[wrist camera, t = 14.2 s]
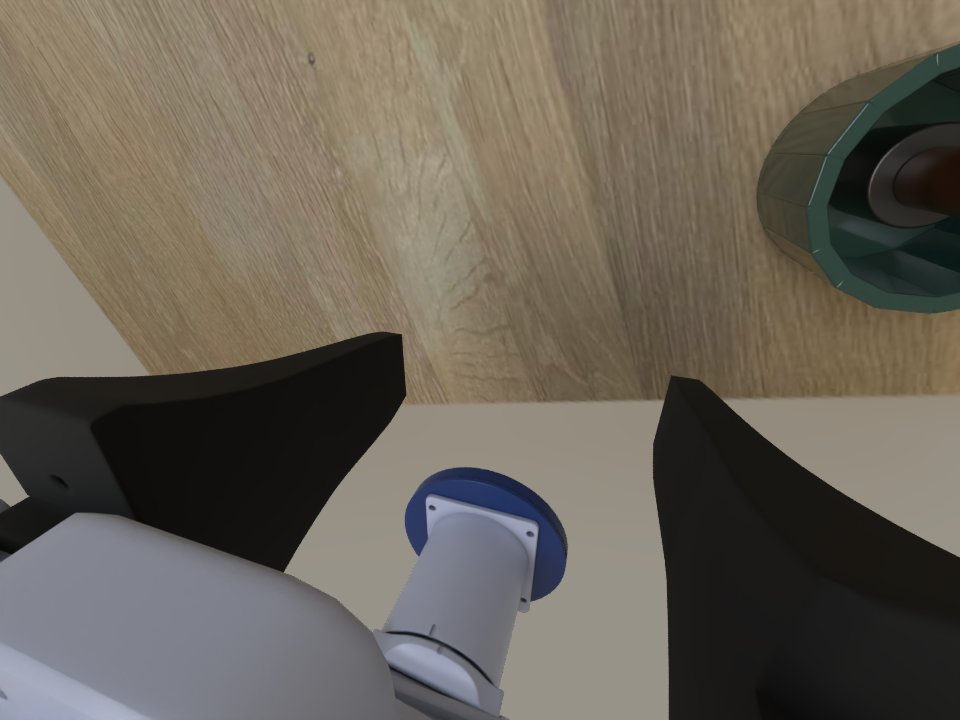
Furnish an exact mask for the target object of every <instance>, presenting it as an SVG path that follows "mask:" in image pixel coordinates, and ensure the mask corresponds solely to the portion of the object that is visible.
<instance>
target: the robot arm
mask: <svg viewBox="0 0 960 720" xmlns="http://www.w3.org/2000/svg"><path fill="white" fill-rule="evenodd" d="M405 397H406V385H405V372H404V358H403V345H402V334H396V333H389V332H375V333H370V334H366V335H362V336H358V337H354V338H351V339H347V340H344V341H340V342H337V343H333V344H330V345H327V346H323V347H320V348H316V349H312V350H309V351H305V352H301V353H297V354H293V355H290V356H286V357H282V358H278V359H274V360H269V361H264V362H259V363H254V364H249V365H243V366H238V367H231V368H224V369H216V370H208V371H200V372H192V373H182V374H170V375H155V376H137V377H56V378H50V379H44V380H41V381H37V382H35V383H32V384H30V385H28V386H25V387H23V388H20V389H18V390H15V391H13V392H10V393H8V394H6V395H3V396H1V397H0V454H1V455H2V456H3V458H4V460H5V461H6V463H7V464H8V466H9V467H10V469H11V471H12V472H13V474H14V475H15V477H16V478H17V480H18V481H19V483H20V484H21V486H22V487H23V489H24V490H25V492H26V493H27V495H29V497H28V498H26V499H24V500H23V501H21V502H19V503H17V504H16V505H14V506H12V507H10V506H9V505H8V504H7V503H5V502H4V501H3V500H2V499H0V720H509V719H508V718H505V717H503V716H499V713H500V709H501V704H502V700H503V696H504V692H503V691H502V690H501V689H499V686H500V681H501V677H502V673H503V669H504V665H505V660H506V656H507V652H508V648H509V644H510V639H511V635H512V631H513V627H514V623H515V619H516V615H517V611H519V612H523V613H526V612H528V611H529V608H530V601H531V592H532V584H533V576H534V567H535V559H536V550H537V542H538V533H539V524H538V523H537V522H536V521H535V520H532V519H528V518H525V517H521V516H517V515H513V514H509V513H505V512H501V511H497V510H494V509H490V508H486V507H482V506H478V505H474V504H470V503H467V502H463V501H459V500H455V499H451V498H447V497H443V496H439V495H436V494H429V495H428V496H427V498H426V514H427V531H428V540H427V542H426V544H425V546H424V548H423V550H422V552H421V554H420V556H419V558H418V560H417V562H416V564H415V566H414V568H413V570H412V572H411V574H410V575H409V577H408V580H407V581H406V583H405V585H404V587H403V589H402V591H401V593H400V595H399V597H398V599H397V601H396V603H395V605H394V607H393V609H392V611H391V613H390V615H389V617H388V618H387V620H386V623H385V624H384V626H383V628H382V630H381V631H380V630H378V629H374V631H373V633H372V632H371V631H370V630H369V629H368V628H367V627H366V626H365V625H364V624H363V623H362V622H361V621H360V620H358V619H357V618H356V617H355V616H354V615H353V614H352V613H351V612H350V611H349V610H348V609H346V608H345V607H344V606H343V605H342V604H341V603H340V602H339V601H338V600H337V599H336V598H334V597H332V596H330V595H328V594H326V593H324V592H322V591H320V590H318V589H316V588H315V587H312V586H311V585H309V584H307V583H305V582H303V581H301V580H299V579H297V578H296V577H294V576H292V575H289V574H286V573H284V571H285V569H286V567H287V565H288V564H289V562H290V560H291V558H292V557H293V555H294V553H295V551H296V550H297V548H298V547H299V545H300V543H301V541H302V540H303V538H304V537H305V535H306V534H307V532H308V530H309V529H310V527H311V526H312V524H313V522H314V521H315V519H316V518H317V516H318V515H319V513H320V512H321V510H322V508H323V507H324V506H325V504H326V502H327V501H328V499H329V498H330V496H331V495H332V493H333V492H334V490H335V489H336V488H337V486H338V485H339V484H340V482H341V481H342V480H343V479H344V477H345V476H346V475H347V474H348V472H349V471H350V470H351V469H352V468H353V466H354V465H355V464H356V463H357V462H358V460H359V459H360V458H361V457H362V456H363V455H364V453H365V452H366V451H367V450H368V448H369V447H370V446H371V445H372V444H373V443H374V441H375V440H376V439H377V438H378V437H379V435H380V434H381V433H382V432H383V430H384V429H385V428H386V427H387V426H388V424H389V423H390V422H391V420H392V419H393V417H394V415H395V414H396V412H397V411H398V409H399V407H400V405H401V404H402V402H403V400H404V398H405ZM653 480H654V488H655V495H656V503H657V510H658V517H659V524H660V530H661V538H662V545H663V551H664V558H665V568H666V578H667V608H668V655H669V720H960V557H957V556H956V555H954V554H952V553H950V552H948V551H946V550H944V549H942V548H940V547H938V546H936V545H934V544H932V543H930V542H928V541H926V540H924V539H922V538H920V537H919V536H917V535H915V534H913V533H911V532H909V531H907V530H905V529H903V528H902V527H900V526H898V525H896V524H894V523H892V522H891V521H889V520H887V519H886V518H884V517H882V516H880V515H879V514H877V513H875V512H873V511H872V510H870V509H868V508H867V507H865V506H863V505H861V504H860V503H858V502H856V501H854V500H853V499H851V498H850V497H848V496H846V495H844V494H843V493H842V492H840V491H838V490H837V489H835V488H833V487H832V486H830V485H829V484H827V483H826V482H824V481H823V480H822V479H820V478H819V477H817V476H816V475H814V474H813V473H811V472H809V471H808V470H807V469H805V468H804V467H802V466H801V465H799V464H798V463H797V462H795V461H794V460H793V459H791V458H790V457H788V456H787V455H786V454H785V453H783V452H782V451H781V450H779V449H778V448H777V447H776V446H774V445H773V444H772V443H771V442H769V441H768V440H767V439H766V438H764V437H763V436H762V435H761V434H759V433H758V432H757V431H756V430H755V429H754V428H752V427H751V426H750V425H749V424H748V423H746V422H745V421H744V420H743V419H742V418H741V417H740V416H739V415H737V414H736V413H735V412H734V411H733V410H732V409H731V408H730V407H729V406H728V405H727V404H726V403H725V402H724V401H722V400H721V399H720V398H719V397H718V396H717V395H716V394H715V393H714V392H713V391H712V390H711V389H709V388H708V387H707V386H706V385H705V384H704V383H703V382H701V381H700V380H697V379H690V378H684V377H677V376H671V378H670V382H669V386H668V390H667V394H666V397H665V401H664V405H663V409H662V413H661V416H660V420H659V424H658V428H657V432H656V435H655V439H654V443H653ZM529 531H530V532H529ZM531 532H532V533H531Z"/></svg>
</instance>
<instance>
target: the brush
mask: <svg viewBox="0 0 960 720" xmlns="http://www.w3.org/2000/svg"><path fill="white" fill-rule="evenodd" d="M829 202H830V203H831V204H832V205H833V206H834V207H835V208H836V209H838V210H839V211H842V212H844V213H847V214H850V215H854V216H857V217H860V218H864V219H867V220H871V221H874V222H877V223H881V224H884V225H887V226H891V227H895V228H903V229H912V228H921V227H926V226H929V225H933V224H936V223H939V222H941V221H944V220H946V219H948V218H950V217H952V216H954V217H959V218H960V122H955V121H952V122H938V123H926V124H914V125H903V126H891V127H883V128H878V129H874V130H871V131H869V132H868V133H867V134H866V135H865V136H864V137H863V139H862V140H861V141H860V142H859V143H858V145H857V146H856V147H855V148H854V149H853V151H852V152H851V153H850V154H849V155H848V157H847V158H846V159H845V161H844V164H843V166H842V169H841V171H840V174H839V177H838V179H837V182H836V185H835V187H834V190H833V192H832V195H831V198H830V200H829Z"/></svg>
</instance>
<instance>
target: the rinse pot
mask: <svg viewBox="0 0 960 720" xmlns="http://www.w3.org/2000/svg"><path fill="white" fill-rule="evenodd" d="M952 121H955V122H960V41H958V42H955V43H952V44H949V45H946V46H943V47H940V48H937V49H934V50H930V51H927V52H924V53H921V54H918V55H915V56H912V57H909V58H906V59H903V60H900V61H897V62H893V63H891V64H888V65H885V66H883V67H880V68H878V69H875V70H872V71H870V72H867V73H864V74H861V75H858V76H856V77H853V78H851V79H849V80H846V81H844V82H842V83H840V84H839V85H837V86H835V87H833V88H832V89H830V90H828V91H827V92H825V93H824V94H822V95H821V96H819V97H818V98H817V99H815V100H814V101H813V102H811V103H810V104H809V105H808V106H807V107H805V108H804V109H803V110H802V111H801V112H800V113H799V114H798V115H797V116H796V117H795V118H794V119H793V120H792V121H791V122H790V123H789V124H788V125H787V127H786V128H785V129H784V130H783V132H782V133H781V134H780V136H779V137H778V139H777V140H776V142H775V143H774V145H773V146H772V148H771V150H770V152H769V154H768V156H767V158H766V160H765V163H764V165H763V168H762V171H761V174H760V178H759V183H758V191H757V207H758V212H759V217H760V220H761V223H762V225H763V228H764V229H765V231H766V233H767V234H768V236H769V237H770V239H771V240H772V241H773V242H774V243H775V244H776V245H777V246H778V247H779V248H780V249H781V251H782V252H783V253H784V254H786V255H787V256H789V257H790V258H792V259H793V260H795V261H796V262H798V263H799V264H801V265H802V266H804V267H805V268H807V269H808V270H810V271H811V272H813V273H814V274H816V275H817V276H819V277H820V278H822V279H823V280H825V281H826V282H828V283H829V284H831V285H832V286H834V287H835V288H837V289H839V290H841V291H843V292H845V293H847V294H849V295H851V296H853V297H855V298H857V299H859V300H861V301H863V302H865V303H866V304H868V305H870V306H872V307H874V308H879V309H888V310H898V311H908V312H918V313H928V314H931V313H940V312H946V311H951V310H957V309H960V218H959V217H954V216H952V217H950V218H948V219H946V220H944V221H941V222H939V223H936V224H933V225H929V226H926V227H921V228H912V229H903V228H895V227H891V226H887V225H884V224H881V223H877V222H874V221H871V220H867V219H864V218H860V217H857V216H854V215H850V214H847V213H844V212H842V211H839V210H838V209H836V208H835V207H834V206H833V205H832V204H831V203H830V202H829V200H830V198H831V195H832V192H833V190H834V187H835V185H836V182H837V179H838V177H839V174H840V171H841V169H842V166H843V164H844V161H845V159H846V158H847V157H848V155H849V154H850V153H851V152H852V151H853V149H854V148H855V147H856V146H857V145H858V143H859V142H860V141H861V140H862V139H863V137H864V136H865V135H866V134H867V133H868V132H869V131H871V130H874V129H878V128H883V127H891V126H903V125H914V124H926V123H938V122H952Z"/></svg>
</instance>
